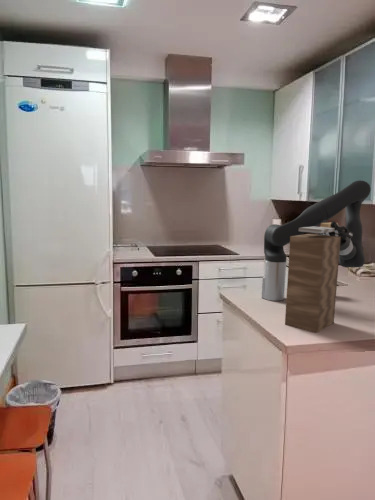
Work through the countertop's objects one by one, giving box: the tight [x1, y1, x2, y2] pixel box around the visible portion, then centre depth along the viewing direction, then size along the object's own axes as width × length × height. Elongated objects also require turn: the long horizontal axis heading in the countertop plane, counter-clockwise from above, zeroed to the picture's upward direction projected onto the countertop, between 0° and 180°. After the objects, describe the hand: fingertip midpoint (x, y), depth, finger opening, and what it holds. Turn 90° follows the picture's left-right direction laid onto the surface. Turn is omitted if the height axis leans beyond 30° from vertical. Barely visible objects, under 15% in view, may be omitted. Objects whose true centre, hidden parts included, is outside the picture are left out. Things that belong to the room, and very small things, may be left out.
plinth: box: [284, 233, 341, 333], centre depth 142 cm, size 15×12×32 cm
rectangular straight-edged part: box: [299, 221, 339, 234], centre depth 144 cm, size 22×8×3 cm, turn 139°
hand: (328, 222), depth 147 cm, fingers closed on rectangular straight-edged part, 2 cm apart
